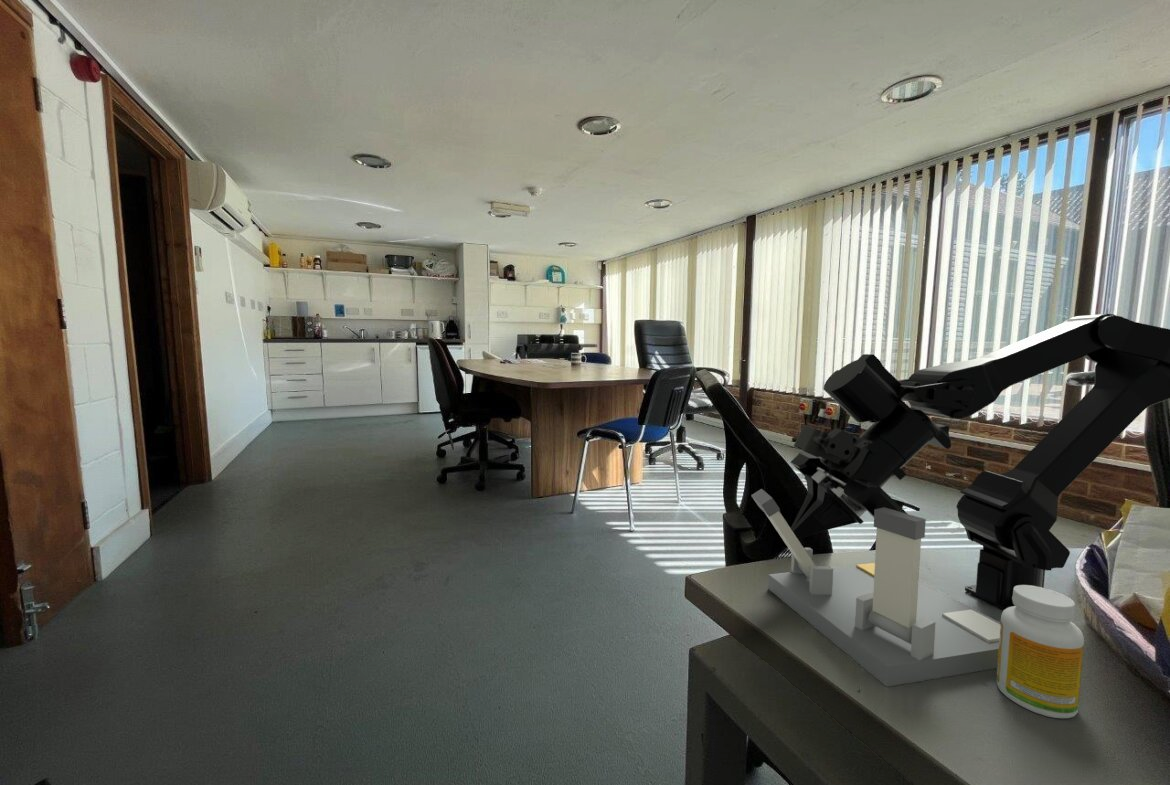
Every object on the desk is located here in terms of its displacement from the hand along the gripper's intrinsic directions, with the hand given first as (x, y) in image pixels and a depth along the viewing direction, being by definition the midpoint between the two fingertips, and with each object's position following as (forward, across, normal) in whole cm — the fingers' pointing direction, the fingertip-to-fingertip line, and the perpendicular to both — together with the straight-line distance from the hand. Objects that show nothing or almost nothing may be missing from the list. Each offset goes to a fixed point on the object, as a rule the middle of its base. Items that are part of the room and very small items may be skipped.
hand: (792, 535), depth 60 cm
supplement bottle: (-4, +18, +17) cm, 25 cm away
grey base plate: (0, +5, +12) cm, 13 cm away
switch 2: (0, +12, +7) cm, 14 cm away
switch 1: (+2, 0, +5) cm, 5 cm away
